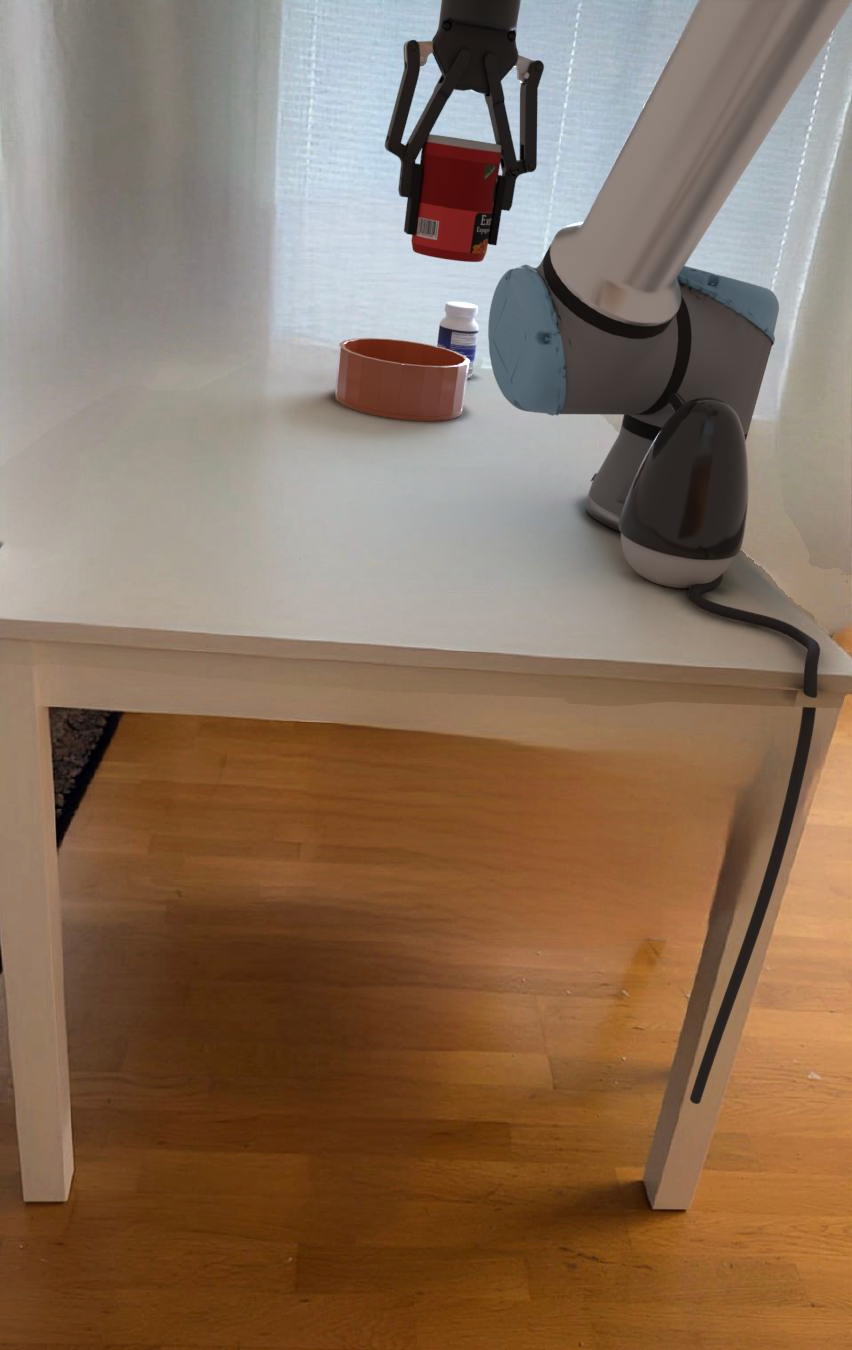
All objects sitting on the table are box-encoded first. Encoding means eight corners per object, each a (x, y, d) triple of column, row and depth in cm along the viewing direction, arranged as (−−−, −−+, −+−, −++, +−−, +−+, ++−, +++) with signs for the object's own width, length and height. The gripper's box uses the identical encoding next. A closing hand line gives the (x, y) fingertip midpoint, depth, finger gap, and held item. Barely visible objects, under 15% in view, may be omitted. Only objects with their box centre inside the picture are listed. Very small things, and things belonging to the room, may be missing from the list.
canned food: (486, 265, 108) (504, 146, 103) (408, 254, 108) (423, 134, 103) (484, 257, 115) (500, 144, 110) (410, 246, 115) (424, 133, 110)
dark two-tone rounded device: (684, 553, 97) (726, 384, 90) (753, 599, 88) (806, 417, 82) (586, 554, 93) (623, 379, 86) (650, 603, 85) (695, 412, 78)
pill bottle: (430, 368, 159) (439, 299, 154) (467, 372, 160) (477, 303, 156) (437, 377, 154) (446, 305, 149) (475, 380, 155) (486, 309, 151)
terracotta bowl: (472, 426, 130) (480, 372, 127) (340, 414, 127) (345, 358, 124) (449, 395, 144) (456, 345, 141) (330, 383, 141) (334, 333, 138)
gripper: (577, 2, 106) (536, 246, 116) (370, -35, 102) (347, 222, 112) (600, -4, 99) (554, 255, 110) (380, -43, 95) (354, 230, 106)
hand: (450, 238), depth 111 cm, fingers closed on canned food, 8 cm apart
